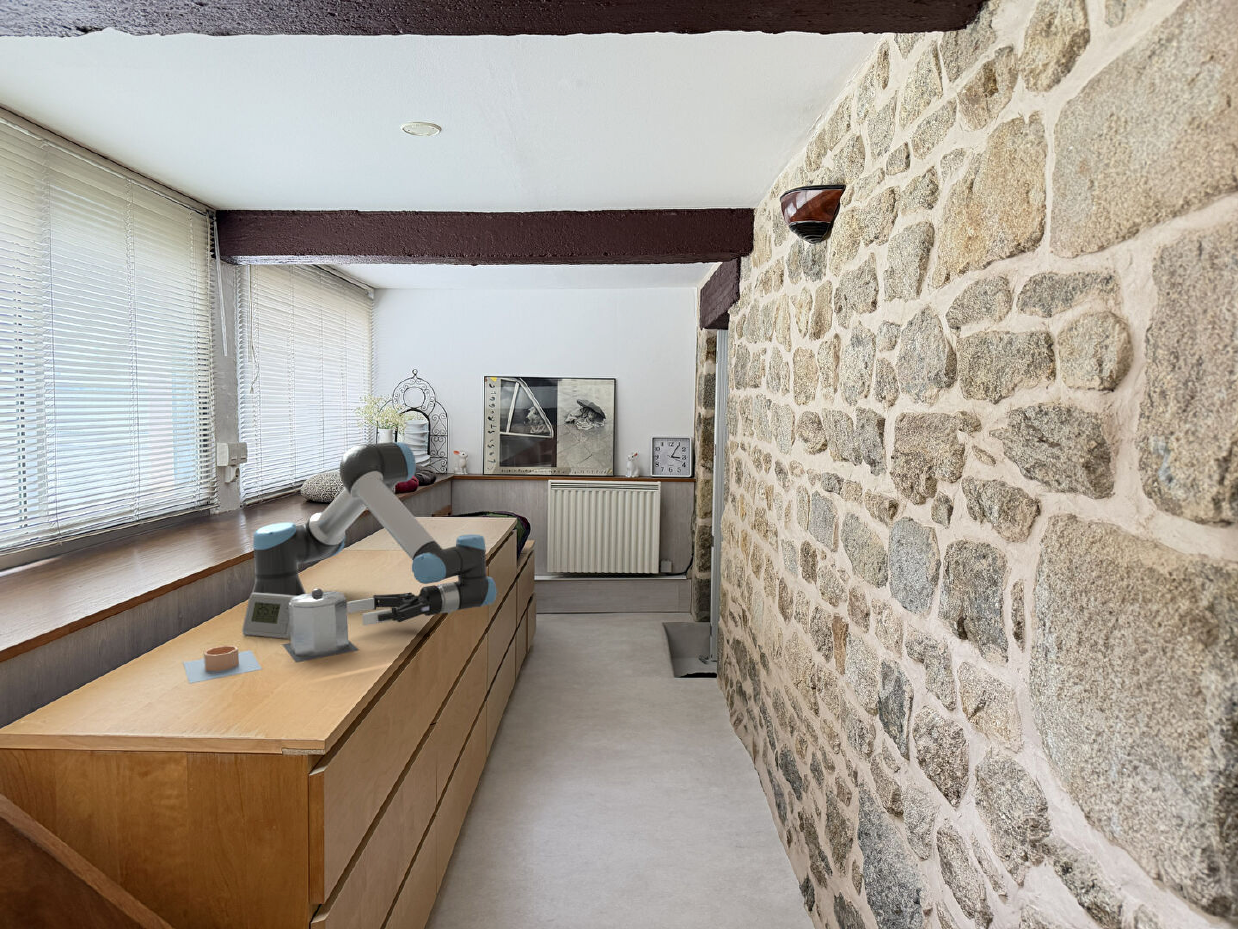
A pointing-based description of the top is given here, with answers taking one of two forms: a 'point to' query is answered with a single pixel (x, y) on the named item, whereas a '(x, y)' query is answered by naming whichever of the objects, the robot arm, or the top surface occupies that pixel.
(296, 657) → the black mat
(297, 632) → the steel canister
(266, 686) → the top surface
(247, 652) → the blue board
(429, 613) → the robot arm
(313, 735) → the top surface
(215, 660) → the terracotta bowl
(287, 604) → the digital clock
